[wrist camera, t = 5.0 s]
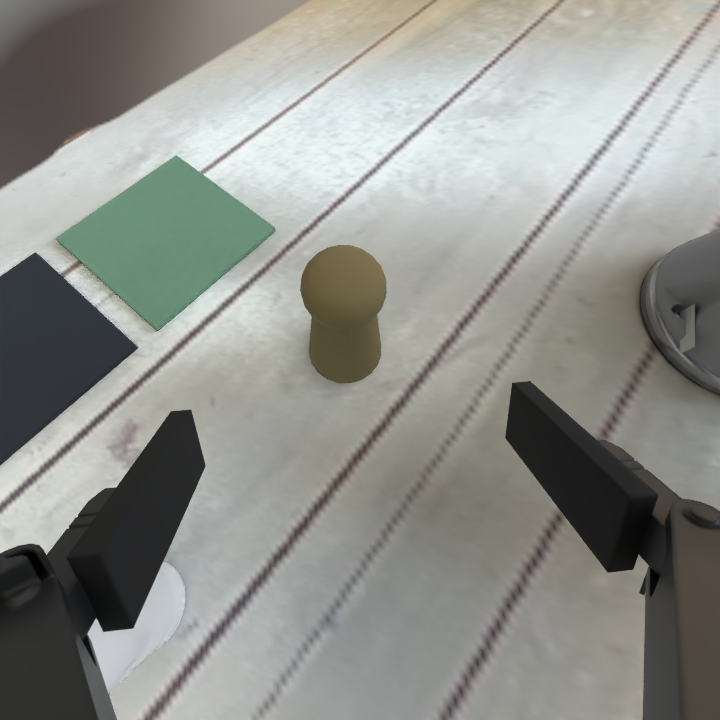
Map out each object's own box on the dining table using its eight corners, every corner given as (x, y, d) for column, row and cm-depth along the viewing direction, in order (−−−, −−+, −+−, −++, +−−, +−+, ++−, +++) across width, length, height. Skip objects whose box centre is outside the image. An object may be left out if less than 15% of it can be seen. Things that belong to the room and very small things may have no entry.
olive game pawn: (317, 311, 33) (303, 221, 23) (386, 323, 33) (403, 237, 22) (301, 376, 31) (277, 308, 20) (375, 389, 30) (388, 327, 20)
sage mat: (178, 159, 39) (176, 154, 39) (275, 230, 36) (274, 227, 35) (58, 242, 35) (55, 238, 34) (157, 331, 32) (154, 328, 31)
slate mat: (39, 255, 34) (35, 252, 34) (138, 347, 31) (135, 345, 31) (-120, 365, 30) (-127, 363, 29) (-23, 484, 27) (-30, 484, 26)
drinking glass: (70, 642, 24) (-331, 830, 10) (130, 530, 26) (-120, 552, 12) (166, 686, 23) (-116, 959, 9) (219, 567, 25) (61, 637, 11)
